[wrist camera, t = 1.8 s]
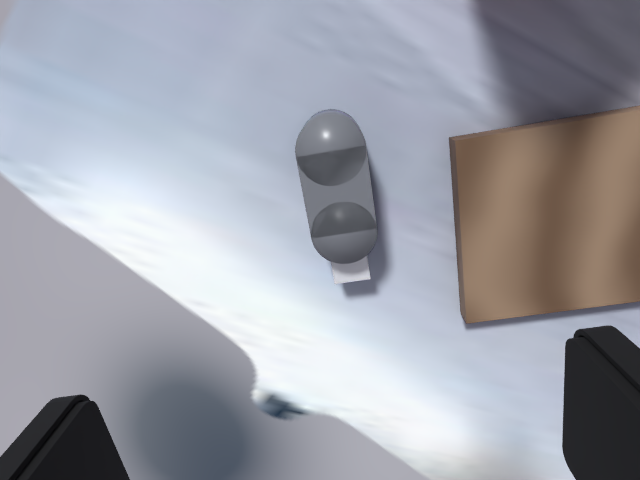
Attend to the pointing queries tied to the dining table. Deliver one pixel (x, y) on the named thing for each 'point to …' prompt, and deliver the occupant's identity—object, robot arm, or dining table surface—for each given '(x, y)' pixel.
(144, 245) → the dining table surface
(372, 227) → the grey double dome block
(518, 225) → the walnut board
